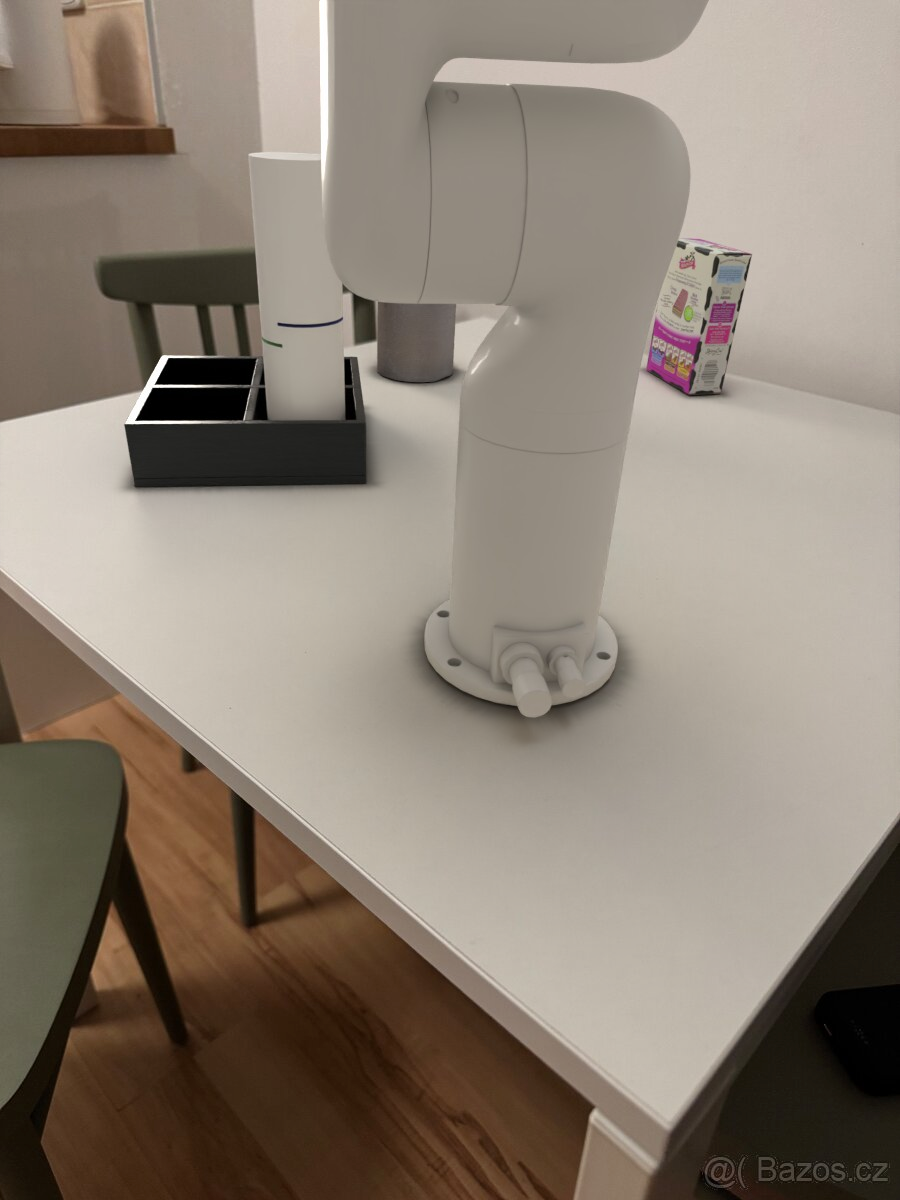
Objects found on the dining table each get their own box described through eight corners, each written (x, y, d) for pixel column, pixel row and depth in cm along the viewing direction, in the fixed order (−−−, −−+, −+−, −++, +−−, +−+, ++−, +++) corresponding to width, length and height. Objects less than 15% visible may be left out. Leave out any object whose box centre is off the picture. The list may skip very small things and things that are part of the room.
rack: (366, 483, 77) (366, 422, 74) (134, 487, 74) (123, 424, 71) (358, 408, 94) (357, 356, 91) (169, 409, 91) (162, 355, 88)
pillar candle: (373, 360, 110) (372, 237, 102) (446, 360, 111) (451, 238, 103) (381, 384, 101) (381, 251, 94) (460, 382, 103) (467, 252, 95)
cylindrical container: (332, 470, 76) (322, 162, 63) (258, 461, 77) (233, 156, 64) (355, 443, 82) (350, 155, 69) (286, 434, 83) (268, 150, 70)
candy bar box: (724, 394, 104) (755, 253, 95) (688, 396, 102) (717, 253, 94) (677, 368, 113) (702, 236, 104) (644, 369, 111) (666, 236, 103)
